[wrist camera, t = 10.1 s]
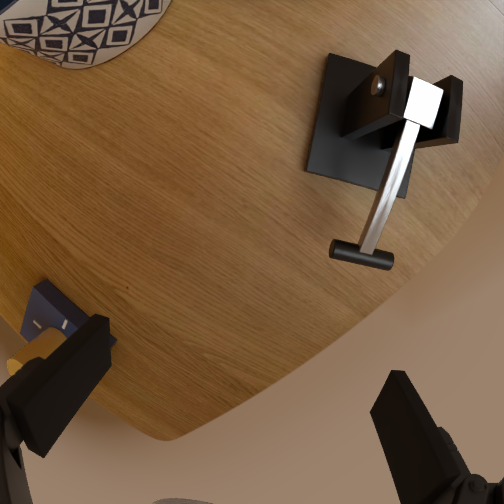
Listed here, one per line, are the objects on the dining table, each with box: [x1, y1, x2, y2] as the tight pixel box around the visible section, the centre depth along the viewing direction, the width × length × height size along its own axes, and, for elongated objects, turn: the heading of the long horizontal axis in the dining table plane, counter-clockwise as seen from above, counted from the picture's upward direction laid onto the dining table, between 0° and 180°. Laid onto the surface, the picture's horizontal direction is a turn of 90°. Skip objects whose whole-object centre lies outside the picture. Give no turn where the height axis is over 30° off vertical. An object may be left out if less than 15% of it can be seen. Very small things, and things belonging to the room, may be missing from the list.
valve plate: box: [20, 279, 117, 350], centre depth 32 cm, size 12×9×3 cm
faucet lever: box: [329, 76, 443, 271], centre depth 18 cm, size 14×5×2 cm, turn 168°
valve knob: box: [7, 327, 67, 376], centre depth 26 cm, size 4×4×8 cm
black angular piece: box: [304, 50, 463, 199], centre depth 20 cm, size 12×10×13 cm
